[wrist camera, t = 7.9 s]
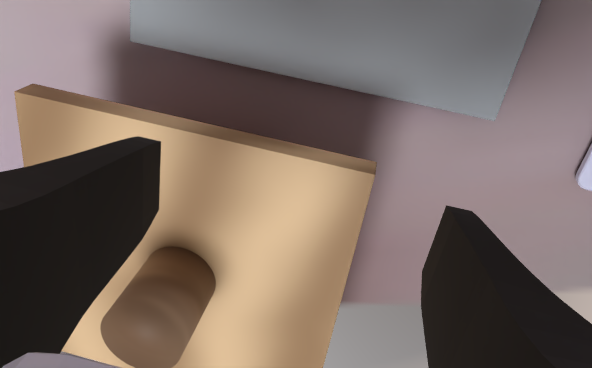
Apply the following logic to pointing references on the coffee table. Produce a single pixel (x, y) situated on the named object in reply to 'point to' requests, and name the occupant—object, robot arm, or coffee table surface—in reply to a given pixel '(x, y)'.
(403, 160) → the coffee table surface
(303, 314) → the oak lid
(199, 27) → the grey flat square slab
